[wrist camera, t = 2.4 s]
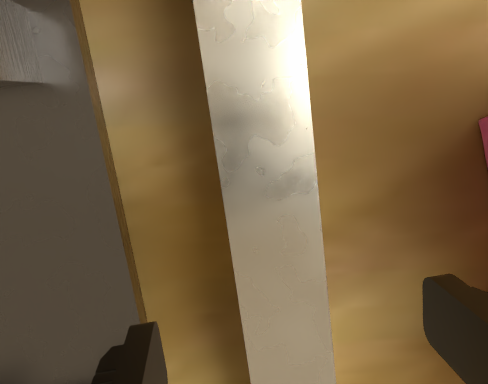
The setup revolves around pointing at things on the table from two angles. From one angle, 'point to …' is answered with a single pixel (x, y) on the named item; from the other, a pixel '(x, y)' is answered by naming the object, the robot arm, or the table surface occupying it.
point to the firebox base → (58, 204)
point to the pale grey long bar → (269, 184)
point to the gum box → (484, 135)
